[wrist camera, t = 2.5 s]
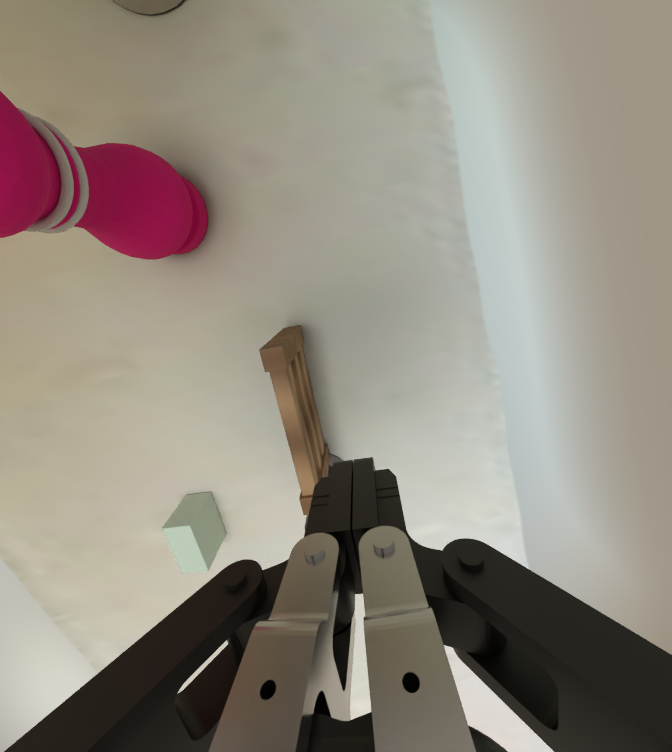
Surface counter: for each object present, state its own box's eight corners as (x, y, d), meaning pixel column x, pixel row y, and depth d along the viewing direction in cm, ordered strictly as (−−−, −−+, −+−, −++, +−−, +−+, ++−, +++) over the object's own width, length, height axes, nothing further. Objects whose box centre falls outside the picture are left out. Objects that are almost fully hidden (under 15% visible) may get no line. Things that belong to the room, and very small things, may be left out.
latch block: (186, 494, 37) (161, 528, 32) (210, 491, 36) (189, 525, 32) (202, 535, 39) (181, 573, 34) (226, 533, 38) (208, 571, 34)
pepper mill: (225, 190, 26) (-95, 2, 8) (200, 274, 29) (-94, 290, 10) (140, 149, 26) (-441, -172, 7) (122, 238, 28) (-354, 180, 9)
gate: (283, 328, 29) (259, 349, 22) (300, 325, 29) (281, 345, 22) (314, 459, 34) (303, 515, 26) (329, 457, 34) (323, 512, 26)
